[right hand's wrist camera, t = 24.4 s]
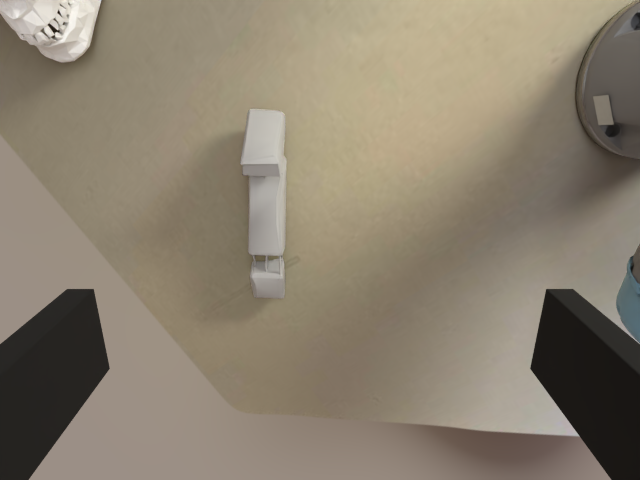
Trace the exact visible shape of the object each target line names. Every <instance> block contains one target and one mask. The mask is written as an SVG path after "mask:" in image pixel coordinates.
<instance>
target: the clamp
mask: <svg viewBox="0 0 640 480" xmlns="http://www.w3.org/2000/svg"><path fill="white" fill-rule="evenodd" d="M285 132H286V122H285V115H284V113H283V112H281V111H279V110H267V109H253V108H251V109H250V110H249V111H248V113H247V121H246V128H245V135H244V142H243V149H242V155H241V162H240V164H242V175H249V191H248V210H249V226H248V252H249V254H250V255H252V257H253V260H254V261H253V262H252V266H251V271H250V282H251V287H252V290H253V294H254V297H255V298H284V296H285V283H286V281H285V267H284V260H283V252H284V249H285V242H286V176H287V159H286V158H285V156H284V155H283V153H284V142H285ZM255 255H263V256H266V257H265V261H256V260H255ZM268 256H279V258H278V259H274V260H269V261H268Z"/></svg>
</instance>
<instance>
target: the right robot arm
mask: <svg viewBox="0 0 640 480" xmlns="http://www.w3.org/2000/svg"><path fill="white" fill-rule="evenodd" d="M576 100H577V109H578V113H579V117H580V119H581V122H582V124H583V126H584V128H585V130H586V132H587V133H588V135H589V136H590V137H591V138H592V139H593V140H594V141H595V142H596V143H597V144H598V145H600V146H601V147H602V148H604V149H606V150H608V151H609V152H612V153H614V154H617V155H621V156H625V157H629V158H635V159H640V0H636V1H635V2H633V3H631V4H629V5H628V6H627V7H625V8H624V9H622V10H621V11H620V12H619V13H617V14H616V15H615V16H614V17H613V18H612V19H611V20H610V21H609V22H608V23H607V24H606V25H605V26H604V27H603V28H602V29H601V31H600V32H599V33H598V35H597V36H596V37H595V39H594V41H593V42H592V44H591V45H590V47H589V49H588V51H587V53H586V55H585V57H584V60H583V62H582V65H581V68H580V72H579V76H578V81H577V90H576ZM616 306H617V310H618V313H619V315H620V317H621V321H622V323H623V324H624V326H625V327H626V329H627V330H628V331H629V332H630V333H631V335H632V336H633V337H634V338H635V339H636V340H637V341H638V342H639V343H640V244H639V246H638V248H637V250H636V252H635V254H634V255H633V256H632V257H630V259H629V261H628V264H627V274H626V276H625V278H624V281H623V283H622V286H621V288H620V290H619V293H618V295H617V301H616ZM638 342H636V341H635V340H634V339H633V338H631V337H630V336H629V335H628V334H627V333H625V332H624V331H623V330H622V329H621V328H619V327H618V326H617V325H616V324H614V323H613V322H612V321H611V320H610V319H608V318H607V317H606V316H605V315H604V314H602V313H601V312H600V311H599V310H597V309H596V308H595V307H594V306H593V305H591V304H590V303H589V302H588V301H587V300H585V299H584V298H583V297H582V296H581V295H579V294H578V293H577V292H576V291H574V290H573V289H546V294H545V299H544V303H543V308H542V313H541V318H540V323H539V328H538V333H537V338H536V343H535V348H534V353H533V358H532V363H531V368H530V369H531V370H532V372H533V373H534V374H535V376H536V377H537V378H538V380H539V381H540V382H541V384H542V385H543V387H544V388H545V389H546V391H547V392H548V393H549V395H550V396H551V398H552V399H553V400H554V402H555V403H556V404H557V406H558V407H559V408H560V410H561V411H562V413H563V414H564V415H565V417H566V418H567V419H568V421H569V422H570V424H571V425H572V426H573V428H574V429H575V430H576V432H577V433H578V434H579V436H580V437H581V439H582V440H583V441H584V443H585V444H586V445H587V447H588V448H589V449H590V451H591V452H592V454H593V455H594V456H595V458H596V459H597V460H598V462H599V463H600V465H601V466H602V467H603V469H604V470H605V471H606V473H607V474H608V476H609V477H610V478H611V480H640V344H639V343H638ZM108 370H109V363H108V358H107V353H106V348H105V343H104V338H103V333H102V328H101V323H100V319H99V313H98V308H97V304H96V299H95V294H94V289H67V290H66V291H64V292H63V293H62V294H61V295H59V296H58V297H57V298H56V299H55V300H53V301H52V302H51V303H50V304H49V305H47V306H46V307H45V308H44V309H43V310H41V311H40V312H39V313H38V314H37V315H35V316H34V317H33V318H32V319H30V320H29V321H28V322H27V323H26V324H24V325H23V326H22V327H21V328H19V329H18V330H17V331H16V332H15V333H13V334H12V335H11V336H10V337H9V338H7V339H6V340H5V341H4V342H2V343H1V344H0V480H29V478H30V477H31V476H32V474H33V473H34V471H35V470H36V469H37V467H38V466H39V465H40V463H41V462H42V460H43V459H44V458H45V456H46V455H47V454H48V452H49V451H50V450H51V448H52V447H53V445H54V444H55V443H56V441H57V440H58V439H59V437H60V436H61V434H62V433H63V432H64V430H65V429H66V428H67V426H68V425H69V423H70V422H71V421H72V419H73V418H74V417H75V415H76V414H77V413H78V411H79V410H80V408H81V407H82V406H83V404H84V403H85V402H86V400H87V399H88V398H89V396H90V395H91V393H92V392H93V391H94V389H95V388H96V387H97V385H98V384H99V382H100V381H101V380H102V378H103V377H104V376H105V374H106V373H107V371H108Z"/></svg>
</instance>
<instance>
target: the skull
mask: <svg viewBox="0 0 640 480" xmlns="http://www.w3.org/2000/svg"><path fill="white" fill-rule="evenodd" d="M68 3H69V5H68ZM100 4H101V0H0V14H1V15H2V17H3V18H4V19H5V21H6V22H7V23H8V24H9V25H10V27H11V28H12V29H13V30H15V31H16V33H17V34H18V36H19V37H20V39H22V40H26V41H27V42H28V43H29V44H30V45H35V46H37V48H38V49H39V51H40V52H41V53H42V54H43V55H44V56H45V57H48V58H51V59H53V60H56V61H59V62H62V63H63V62H71V61H75V60H76V59H78V58H79V57H80V56H82V55H83V54H84V53H85V52H86V50H87V49H88V48H89V46H90V43H91V39H92V35H93V30H94V26H95V22H96V18H97V15H98V11H99V7H100ZM60 5H61V6H62V7H61V6H60ZM58 9H59V11H60V14H61V16H62V17H61V16H60V15H59V14H58V13H57V12H58ZM54 18H55V19H56V20H57V21H58V22H59V23H57V22H56V21H55V20H53V19H54ZM64 22H65V24H64V25H62V24H63V23H64ZM49 23H50V24H51V25H52V26H53V27H54V28H56V29H57V30H58V29H59V30H60V32H59V33H58V32H56V33H55V34H54V33H53V32H52V30H51V29H50V27H49V26H48V24H49ZM43 28H44V31H45V32H44V31H43ZM47 35H48V36H47ZM54 35H55V37H54V38H51V37H52V36H54Z"/></svg>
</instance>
